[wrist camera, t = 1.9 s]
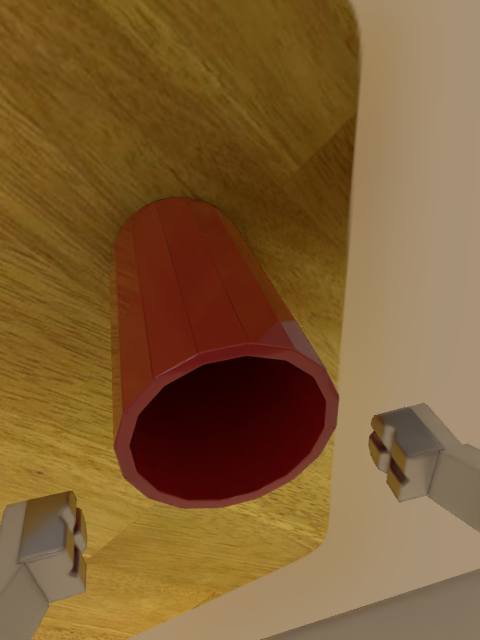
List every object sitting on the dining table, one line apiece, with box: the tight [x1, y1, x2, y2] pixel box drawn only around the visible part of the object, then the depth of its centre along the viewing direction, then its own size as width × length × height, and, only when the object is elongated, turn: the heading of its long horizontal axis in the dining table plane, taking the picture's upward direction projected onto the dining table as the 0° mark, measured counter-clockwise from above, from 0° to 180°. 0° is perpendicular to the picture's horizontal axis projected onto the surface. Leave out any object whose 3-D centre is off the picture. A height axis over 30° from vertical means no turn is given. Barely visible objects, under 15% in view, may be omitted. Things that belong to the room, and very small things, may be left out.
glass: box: [110, 197, 339, 509], centre depth 17 cm, size 6×6×11 cm
